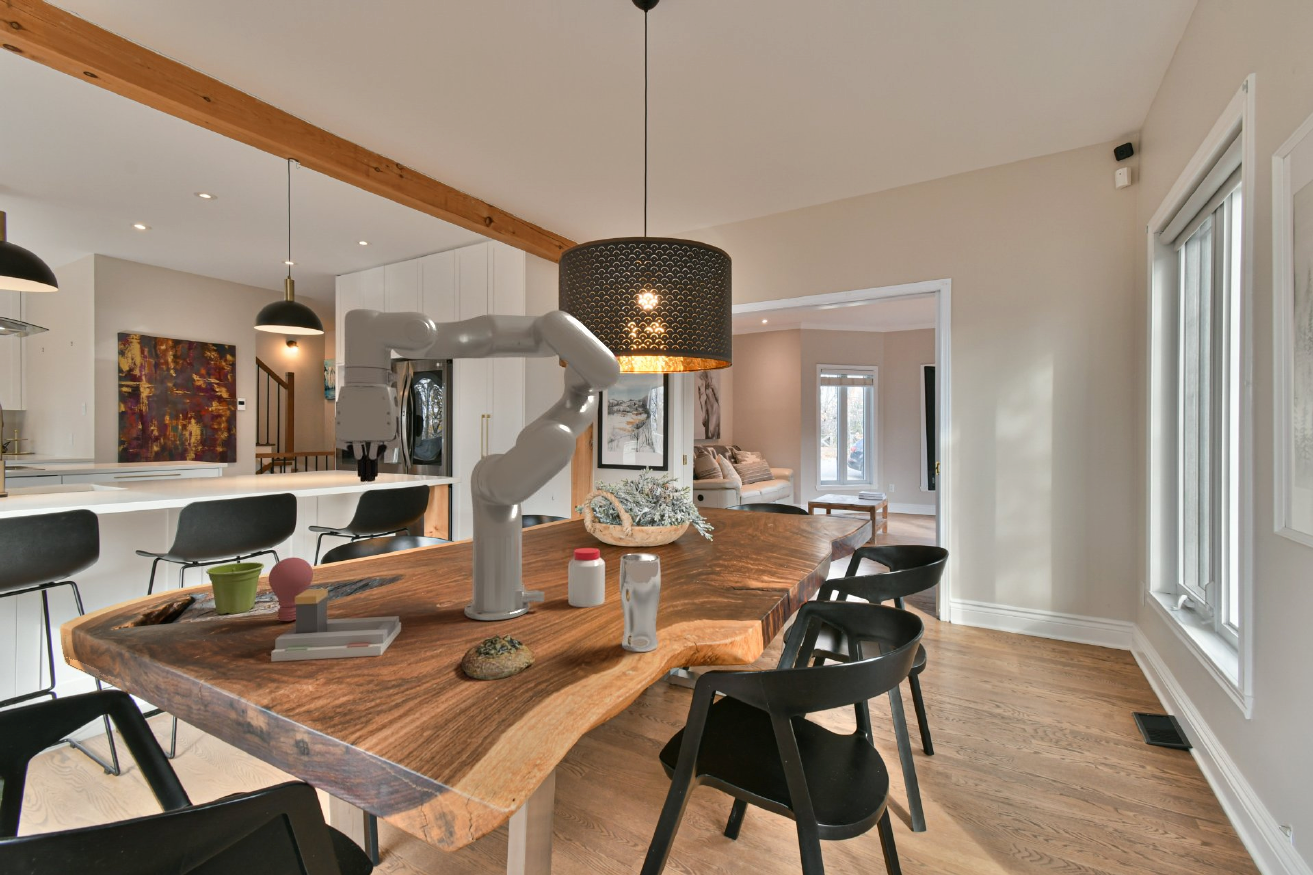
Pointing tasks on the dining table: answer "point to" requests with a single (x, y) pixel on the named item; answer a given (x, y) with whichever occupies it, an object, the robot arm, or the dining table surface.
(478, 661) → the bread roll
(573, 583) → the pill bottle
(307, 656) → the switch panel
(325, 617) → the breaker handle
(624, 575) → the beer glass
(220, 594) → the plant pot
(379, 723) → the dining table surface
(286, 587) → the light bulb
